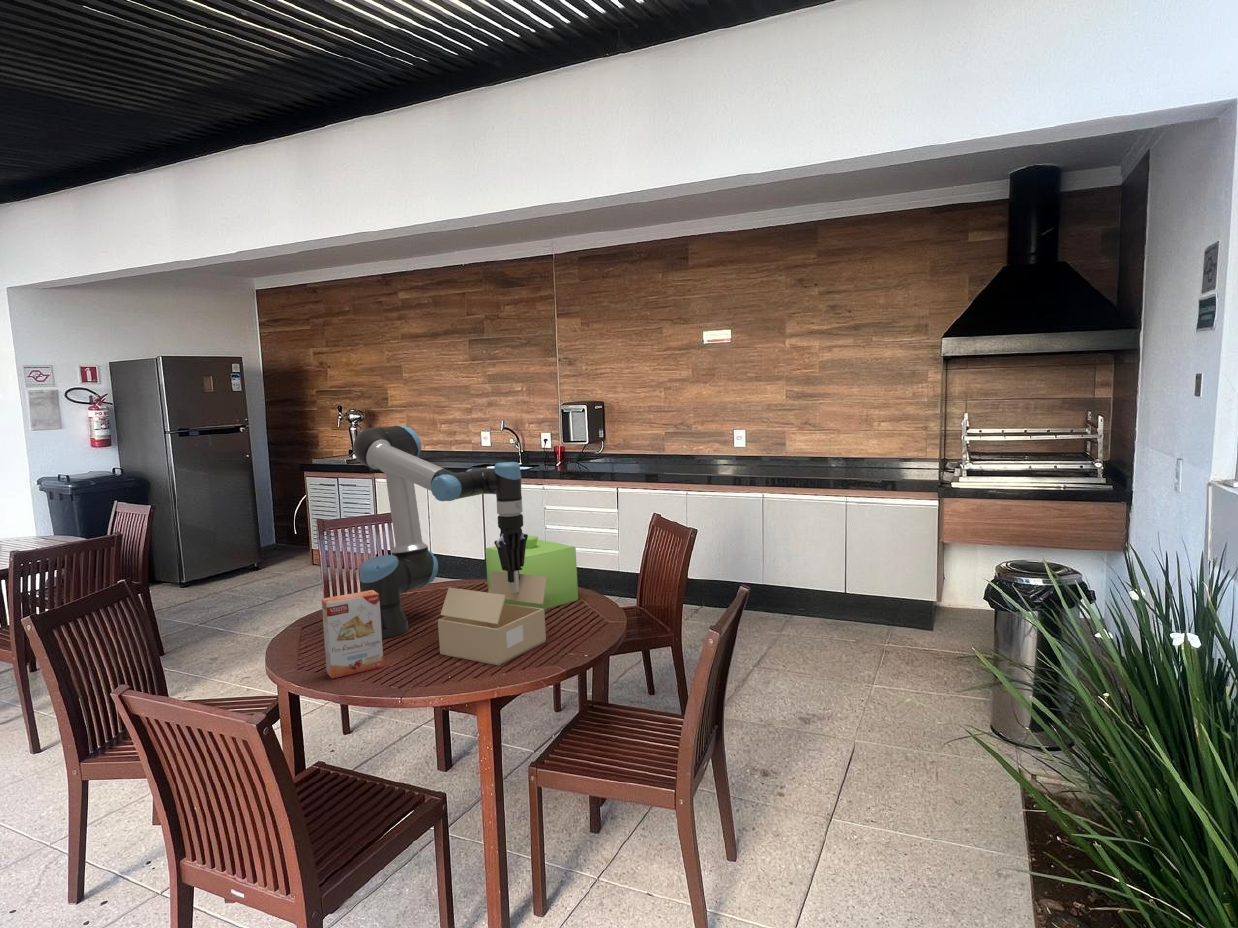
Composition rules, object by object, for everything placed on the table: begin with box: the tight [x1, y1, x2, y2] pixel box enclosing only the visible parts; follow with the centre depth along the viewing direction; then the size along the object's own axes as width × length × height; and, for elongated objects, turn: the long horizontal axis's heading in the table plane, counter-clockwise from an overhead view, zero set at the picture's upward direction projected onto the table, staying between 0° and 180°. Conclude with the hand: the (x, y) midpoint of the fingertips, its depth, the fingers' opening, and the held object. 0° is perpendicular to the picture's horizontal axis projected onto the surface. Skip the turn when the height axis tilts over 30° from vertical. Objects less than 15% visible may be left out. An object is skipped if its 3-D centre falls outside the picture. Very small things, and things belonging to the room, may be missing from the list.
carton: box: [437, 603, 547, 667], centre depth 213 cm, size 22×21×10 cm
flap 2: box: [487, 571, 547, 604], centre depth 223 cm, size 21×1×8 cm, turn 59°
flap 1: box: [440, 587, 506, 624], centre depth 206 cm, size 21×1×8 cm
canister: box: [485, 535, 579, 610], centre depth 262 cm, size 25×21×23 cm
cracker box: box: [321, 590, 384, 679], centre depth 199 cm, size 14×6×21 cm, turn 124°
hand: (514, 591), depth 221 cm, fingers closed
